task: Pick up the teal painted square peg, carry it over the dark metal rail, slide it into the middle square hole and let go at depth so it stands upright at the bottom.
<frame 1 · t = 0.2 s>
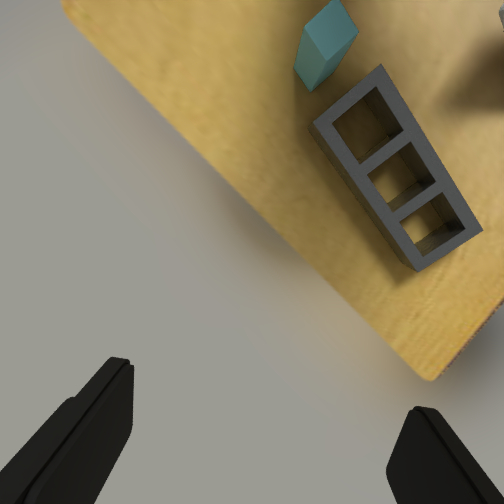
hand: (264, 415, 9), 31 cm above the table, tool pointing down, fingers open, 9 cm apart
square peg: (313, 69, 32), on the table
hole rail: (386, 178, 35), on the table
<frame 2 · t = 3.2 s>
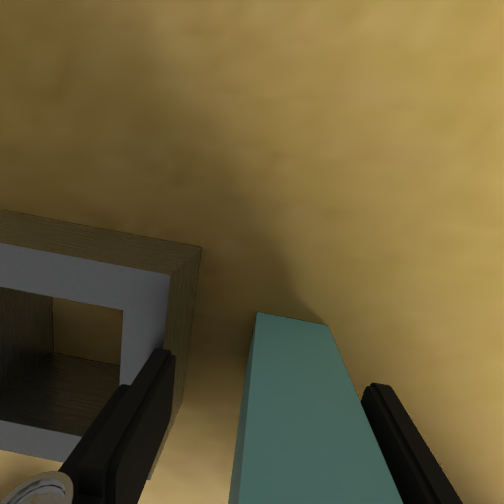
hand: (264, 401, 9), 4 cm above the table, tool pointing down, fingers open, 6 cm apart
square peg: (285, 349, 13), on the table
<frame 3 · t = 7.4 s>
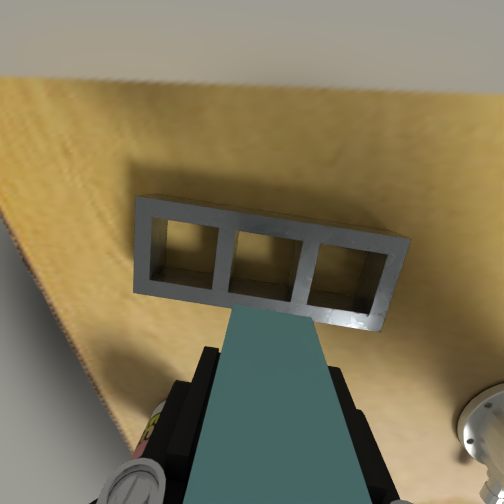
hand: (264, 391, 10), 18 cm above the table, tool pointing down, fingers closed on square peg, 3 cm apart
square peg: (265, 344, 12), point 16 cm above the table, touching gripper
hole rail: (264, 255, 27), on the table
beverage can: (182, 418, 34), on the table
when the fingers open (5 cm above the table, at t = 11.1 s): square peg drops 2 cm, resting in hole rail.
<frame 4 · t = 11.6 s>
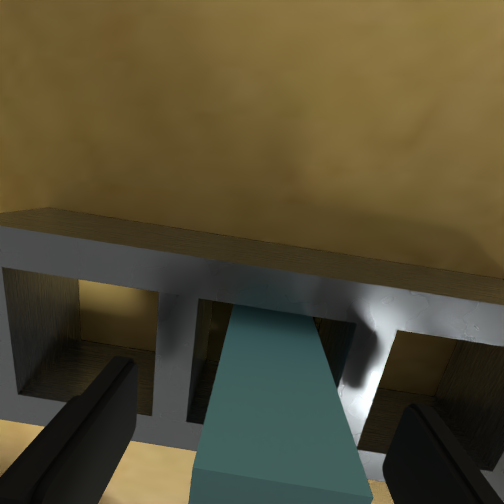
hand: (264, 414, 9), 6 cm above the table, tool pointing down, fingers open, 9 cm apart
square peg: (266, 319, 14), resting in hole rail
hole rail: (264, 323, 14), on the table
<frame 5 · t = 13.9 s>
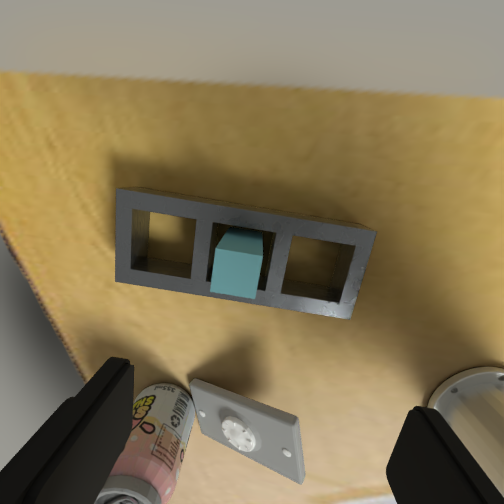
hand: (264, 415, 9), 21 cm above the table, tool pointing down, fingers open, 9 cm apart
light switch: (245, 398, 35), on the table
square peg: (243, 244, 28), resting in hole rail
hole rail: (242, 246, 28), on the table
beverage can: (165, 404, 35), on the table
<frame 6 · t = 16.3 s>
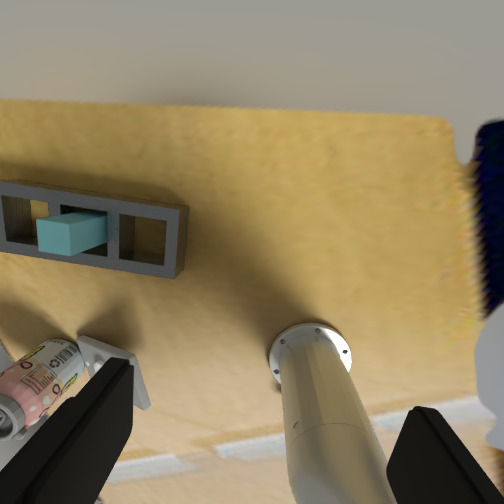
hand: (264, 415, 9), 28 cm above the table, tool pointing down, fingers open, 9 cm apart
light switch: (125, 352, 42), on the table
square peg: (103, 224, 37), resting in hole rail
hole rail: (103, 225, 37), on the table
beverage can: (63, 358, 43), on the table
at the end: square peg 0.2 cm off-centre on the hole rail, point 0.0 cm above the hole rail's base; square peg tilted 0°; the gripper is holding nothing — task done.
